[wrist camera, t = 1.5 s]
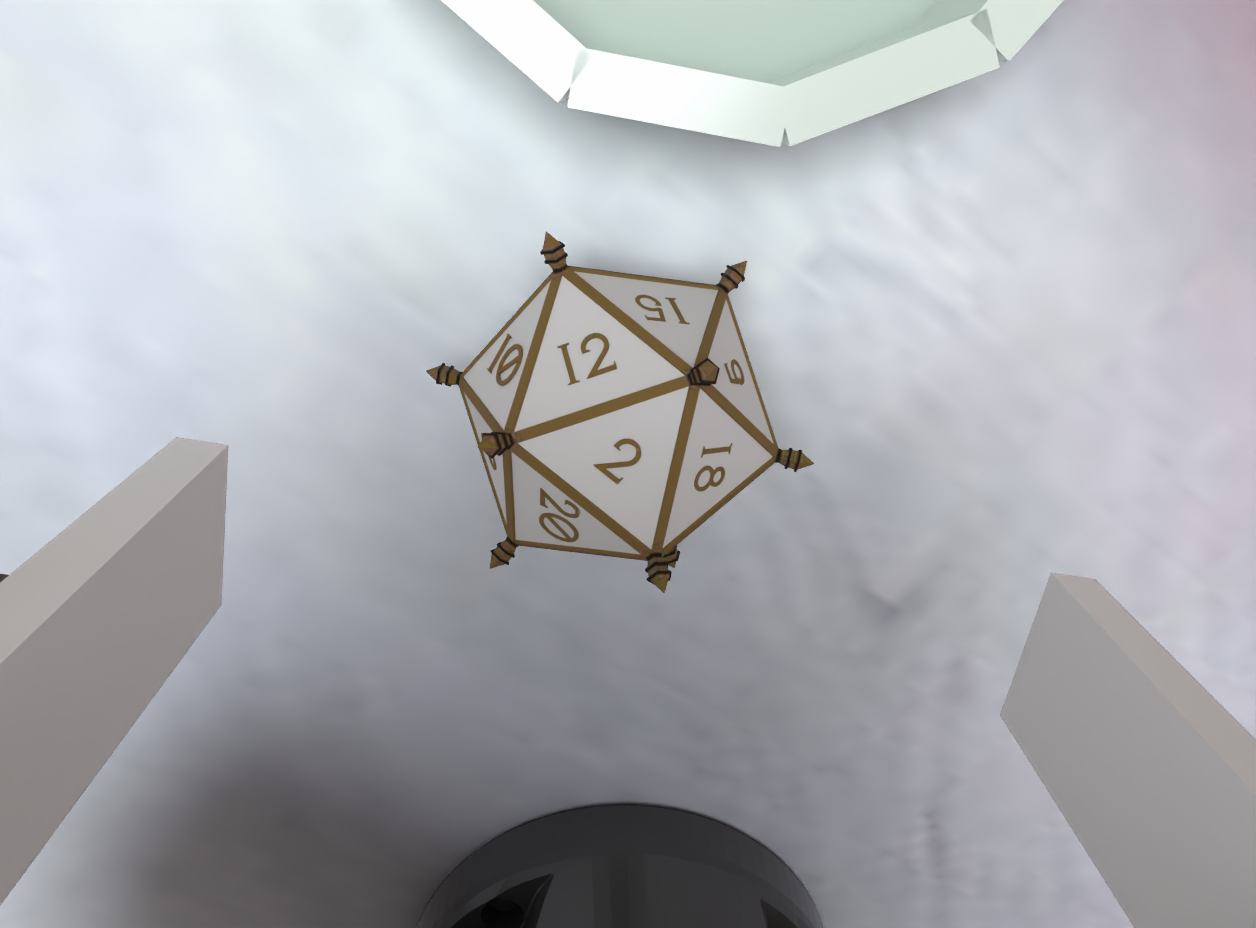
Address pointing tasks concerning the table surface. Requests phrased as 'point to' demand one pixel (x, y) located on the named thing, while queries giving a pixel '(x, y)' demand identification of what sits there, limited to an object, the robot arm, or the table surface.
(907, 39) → the bowl
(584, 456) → the game die
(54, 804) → the robot arm
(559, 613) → the table surface
